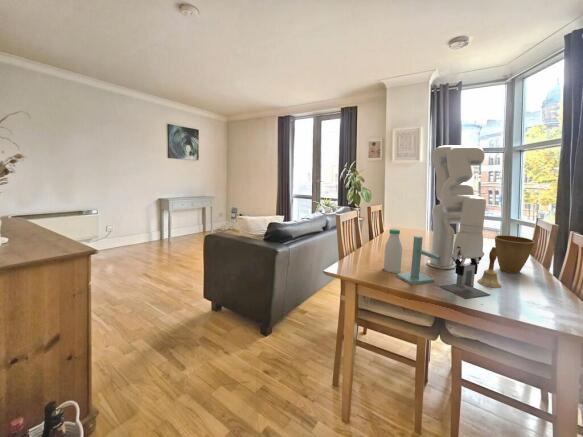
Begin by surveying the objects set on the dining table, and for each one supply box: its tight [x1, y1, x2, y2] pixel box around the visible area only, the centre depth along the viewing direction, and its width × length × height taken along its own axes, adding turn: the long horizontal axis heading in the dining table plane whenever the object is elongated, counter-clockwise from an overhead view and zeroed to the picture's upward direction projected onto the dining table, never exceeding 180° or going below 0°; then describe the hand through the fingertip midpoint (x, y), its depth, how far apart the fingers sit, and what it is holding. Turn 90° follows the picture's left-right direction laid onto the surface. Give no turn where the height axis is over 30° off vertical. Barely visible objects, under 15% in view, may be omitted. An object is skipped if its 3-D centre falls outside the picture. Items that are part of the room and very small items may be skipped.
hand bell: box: [477, 246, 502, 288], centre depth 116 cm, size 8×8×16 cm
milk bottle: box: [383, 228, 403, 274], centre depth 131 cm, size 8×8×20 cm
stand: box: [395, 235, 440, 285], centre depth 117 cm, size 12×17×19 cm
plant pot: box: [494, 234, 536, 274], centre depth 132 cm, size 15×15×16 cm
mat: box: [439, 283, 491, 300], centre depth 109 cm, size 12×12×1 cm
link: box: [455, 262, 476, 288], centre depth 108 cm, size 6×2×9 cm, turn 106°
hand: (465, 273), depth 108 cm, fingers closed on link, 6 cm apart
